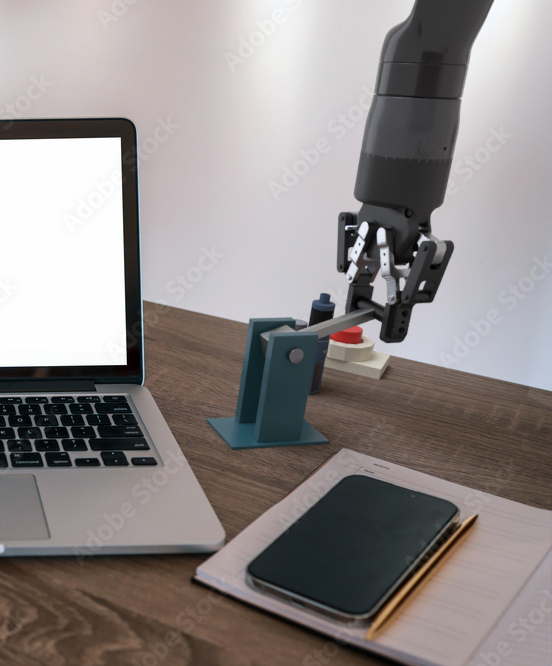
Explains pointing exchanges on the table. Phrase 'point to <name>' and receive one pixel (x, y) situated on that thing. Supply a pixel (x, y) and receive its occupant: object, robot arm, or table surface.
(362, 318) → the lever
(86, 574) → the table surface
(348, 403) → the table surface
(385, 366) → the button box
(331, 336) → the button
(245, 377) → the bracket
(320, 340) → the vaping device
